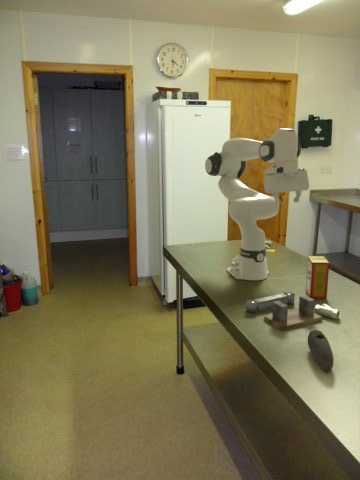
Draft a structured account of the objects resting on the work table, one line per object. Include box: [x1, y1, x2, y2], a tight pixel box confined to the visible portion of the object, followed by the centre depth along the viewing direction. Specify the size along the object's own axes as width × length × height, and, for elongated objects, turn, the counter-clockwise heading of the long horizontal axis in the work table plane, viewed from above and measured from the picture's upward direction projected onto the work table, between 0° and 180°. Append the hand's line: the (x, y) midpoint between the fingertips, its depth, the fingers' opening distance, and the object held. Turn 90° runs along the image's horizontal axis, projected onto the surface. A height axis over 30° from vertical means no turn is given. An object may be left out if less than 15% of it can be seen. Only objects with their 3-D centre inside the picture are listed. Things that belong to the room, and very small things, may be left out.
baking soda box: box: [305, 255, 330, 300], centre depth 157 cm, size 10×6×16 cm
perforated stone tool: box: [307, 329, 334, 373], centre depth 108 cm, size 15×5×7 cm, turn 174°
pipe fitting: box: [314, 303, 340, 320], centre depth 139 cm, size 8×4×7 cm
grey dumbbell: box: [245, 291, 296, 315], centre depth 146 cm, size 4×22×4 cm, turn 114°
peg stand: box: [263, 294, 323, 332], centre depth 134 cm, size 10×18×8 cm, turn 114°
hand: (287, 203), depth 153 cm, fingers open, 8 cm apart
